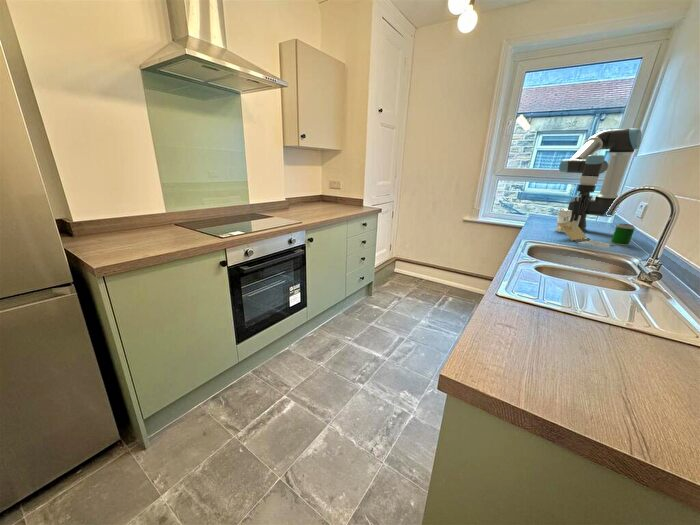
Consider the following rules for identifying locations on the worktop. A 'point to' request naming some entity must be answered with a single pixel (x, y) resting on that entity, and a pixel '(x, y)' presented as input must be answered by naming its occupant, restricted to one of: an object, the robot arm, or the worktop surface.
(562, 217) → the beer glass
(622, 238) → the soda can
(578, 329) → the worktop surface
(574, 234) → the swing leaf
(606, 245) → the base leaf
